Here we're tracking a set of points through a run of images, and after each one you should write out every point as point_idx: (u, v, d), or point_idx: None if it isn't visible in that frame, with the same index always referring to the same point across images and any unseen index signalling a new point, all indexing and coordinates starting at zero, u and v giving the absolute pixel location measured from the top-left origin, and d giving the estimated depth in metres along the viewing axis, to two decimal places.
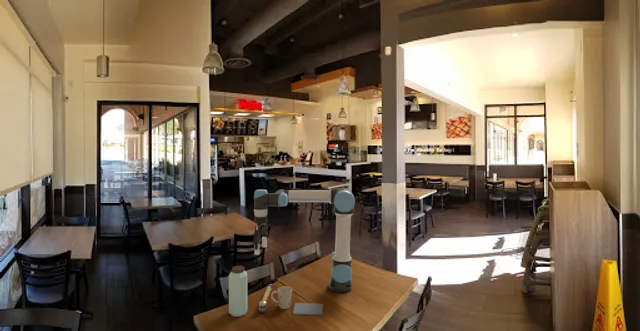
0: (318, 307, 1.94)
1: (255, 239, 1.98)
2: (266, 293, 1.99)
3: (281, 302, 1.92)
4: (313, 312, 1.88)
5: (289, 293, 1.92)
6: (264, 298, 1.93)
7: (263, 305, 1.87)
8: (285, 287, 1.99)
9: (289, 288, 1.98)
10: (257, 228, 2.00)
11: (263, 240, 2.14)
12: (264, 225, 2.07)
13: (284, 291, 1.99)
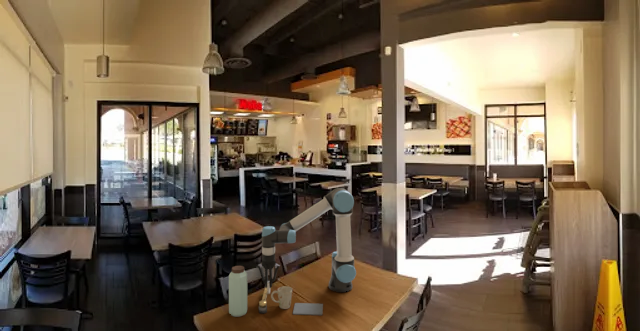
0: (318, 307, 1.94)
1: None
2: (265, 293, 1.99)
3: (281, 302, 1.92)
4: (313, 312, 1.88)
5: (289, 293, 1.92)
6: (263, 298, 1.93)
7: (263, 305, 1.87)
8: (285, 287, 1.99)
9: (289, 288, 1.98)
10: None
11: None
12: (270, 264, 2.00)
13: (284, 291, 1.99)
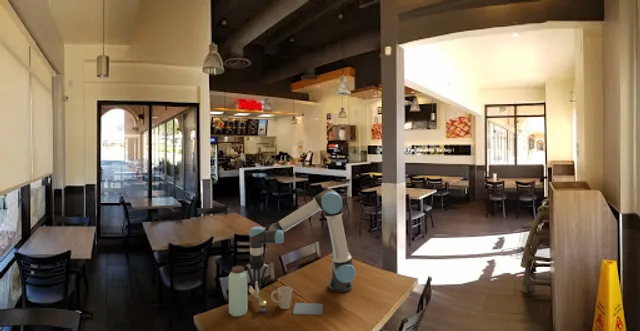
0: (318, 307, 1.94)
1: None
2: (256, 294, 1.98)
3: (281, 302, 1.92)
4: (313, 312, 1.88)
5: (289, 293, 1.92)
6: (260, 298, 1.93)
7: (265, 304, 1.88)
8: (285, 287, 1.99)
9: (289, 288, 1.98)
10: None
11: None
12: (258, 265, 2.00)
13: (284, 291, 1.99)
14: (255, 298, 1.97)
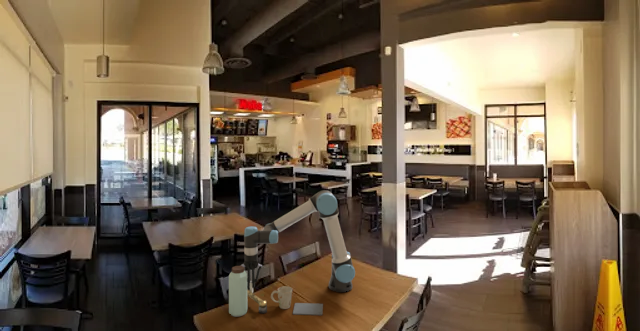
0: (318, 307, 1.94)
1: None
2: (253, 295, 1.97)
3: (281, 302, 1.92)
4: (313, 312, 1.88)
5: (289, 293, 1.92)
6: (259, 299, 1.92)
7: (265, 304, 1.88)
8: (285, 287, 1.99)
9: (289, 288, 1.98)
10: None
11: None
12: (252, 264, 2.01)
13: (284, 291, 1.99)
14: None
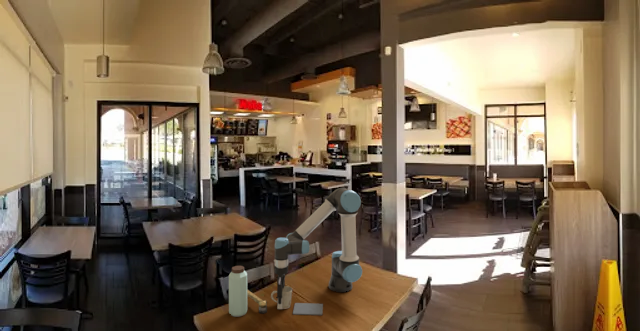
0: (318, 307, 1.94)
1: (279, 294, 1.89)
2: (253, 295, 1.97)
3: None
4: (313, 312, 1.88)
5: (289, 293, 1.92)
6: (259, 299, 1.92)
7: (265, 304, 1.88)
8: (285, 287, 1.99)
9: (289, 288, 1.98)
10: (280, 283, 1.88)
11: None
12: (284, 275, 1.96)
13: (284, 291, 1.99)
14: None
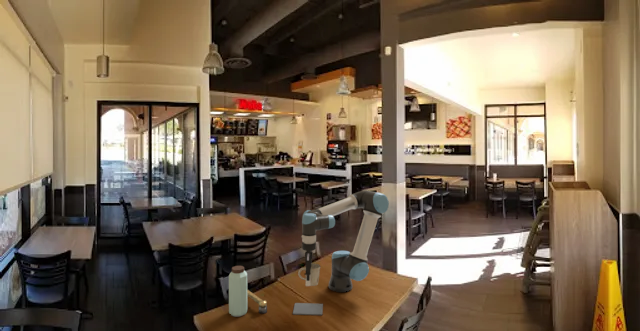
0: (318, 307, 1.94)
1: (307, 270, 1.84)
2: (253, 295, 1.97)
3: None
4: (313, 312, 1.88)
5: (317, 269, 1.88)
6: (259, 299, 1.92)
7: (265, 304, 1.88)
8: (312, 264, 1.94)
9: (316, 265, 1.94)
10: (308, 259, 1.84)
11: None
12: (312, 252, 1.91)
13: (311, 268, 1.94)
14: None
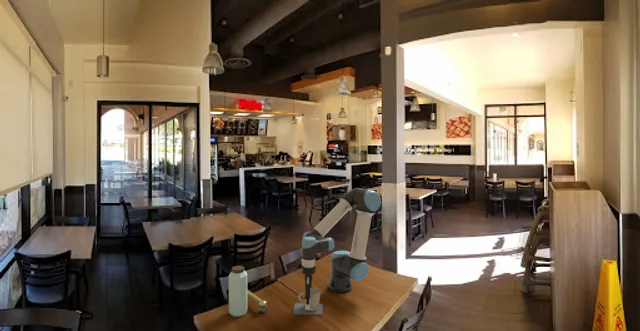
0: (318, 307, 1.94)
1: (307, 294, 1.84)
2: (253, 295, 1.97)
3: None
4: (313, 312, 1.88)
5: (318, 295, 1.89)
6: (259, 299, 1.92)
7: (265, 304, 1.88)
8: (313, 289, 1.96)
9: (317, 290, 1.95)
10: (308, 282, 1.84)
11: None
12: None
13: (312, 293, 1.95)
14: None
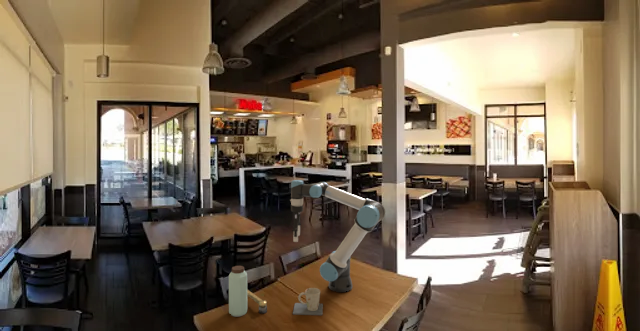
0: (318, 307, 1.94)
1: (295, 227, 2.08)
2: (253, 295, 1.97)
3: (309, 304, 1.89)
4: (313, 312, 1.88)
5: (317, 295, 1.89)
6: (259, 299, 1.92)
7: (265, 304, 1.88)
8: (312, 289, 1.96)
9: (317, 290, 1.95)
10: (296, 216, 2.10)
11: None
12: None
13: (311, 293, 1.96)
14: None
